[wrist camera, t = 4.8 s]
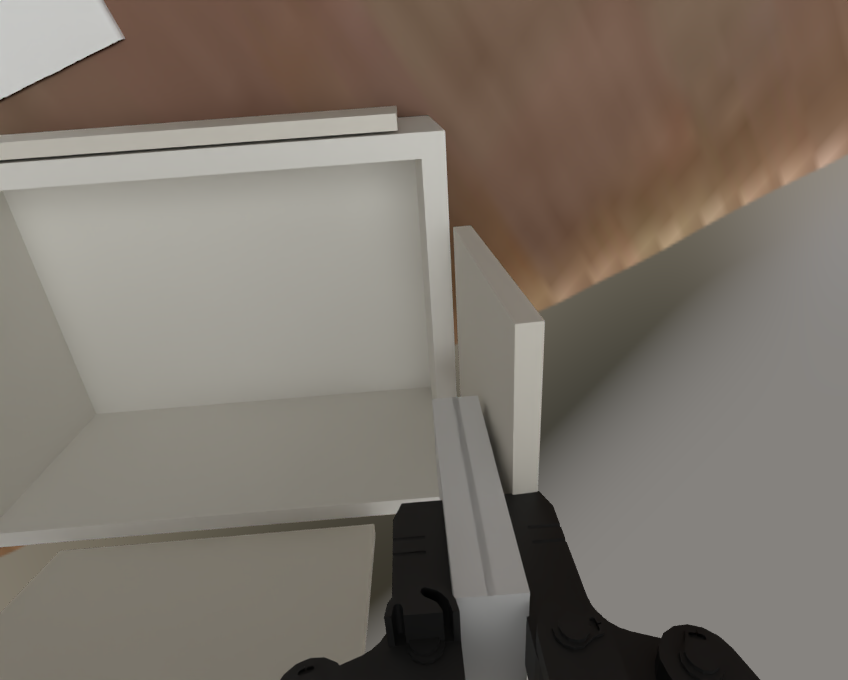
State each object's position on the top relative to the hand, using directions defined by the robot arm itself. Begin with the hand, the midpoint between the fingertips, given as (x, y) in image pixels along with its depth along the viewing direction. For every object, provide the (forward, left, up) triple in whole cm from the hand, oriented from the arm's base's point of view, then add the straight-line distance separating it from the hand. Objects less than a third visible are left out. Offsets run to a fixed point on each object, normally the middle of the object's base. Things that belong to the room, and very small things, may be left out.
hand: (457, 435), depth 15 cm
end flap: (+1, 0, -1) cm, 1 cm away
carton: (-11, 0, -15) cm, 18 cm away
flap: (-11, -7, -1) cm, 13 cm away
